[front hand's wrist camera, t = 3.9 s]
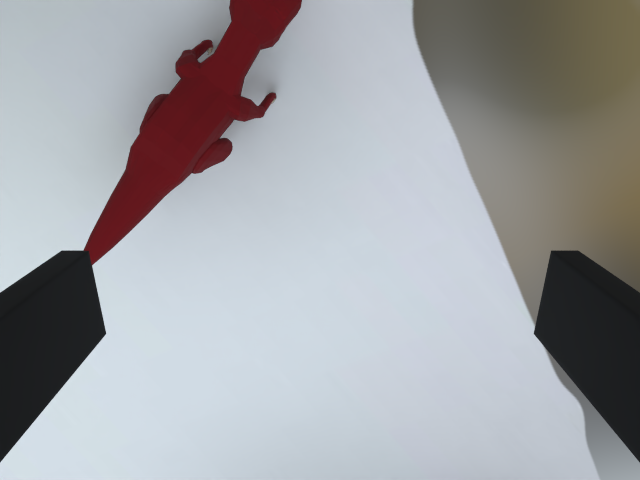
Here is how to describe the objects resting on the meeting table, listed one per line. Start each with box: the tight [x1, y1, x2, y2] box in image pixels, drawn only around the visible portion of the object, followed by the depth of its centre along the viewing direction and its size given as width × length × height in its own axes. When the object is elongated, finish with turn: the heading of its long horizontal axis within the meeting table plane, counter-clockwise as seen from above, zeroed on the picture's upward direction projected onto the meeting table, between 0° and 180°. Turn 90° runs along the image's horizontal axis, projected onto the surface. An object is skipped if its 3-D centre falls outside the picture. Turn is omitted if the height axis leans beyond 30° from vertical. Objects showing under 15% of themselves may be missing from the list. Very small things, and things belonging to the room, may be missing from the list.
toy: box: [84, 0, 302, 265], centre depth 30 cm, size 7×25×15 cm
